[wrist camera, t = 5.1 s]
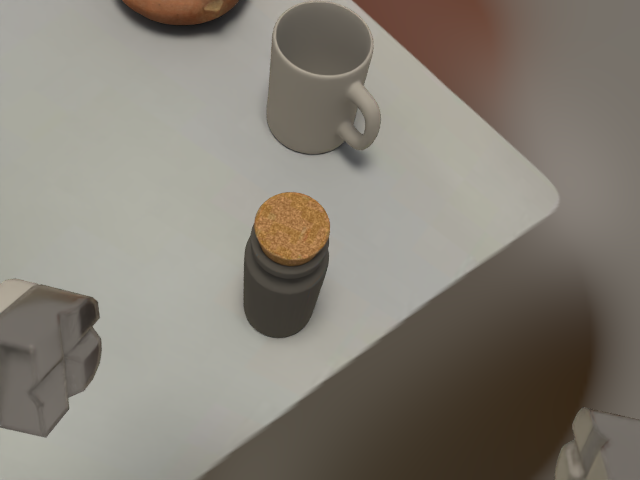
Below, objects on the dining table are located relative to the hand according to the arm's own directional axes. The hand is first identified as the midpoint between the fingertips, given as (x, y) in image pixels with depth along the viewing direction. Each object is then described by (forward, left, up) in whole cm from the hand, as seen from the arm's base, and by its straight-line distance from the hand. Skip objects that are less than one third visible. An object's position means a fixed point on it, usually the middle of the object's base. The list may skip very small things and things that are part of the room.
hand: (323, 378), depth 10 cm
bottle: (+9, +12, -38) cm, 41 cm away
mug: (+22, +25, -38) cm, 51 cm away
